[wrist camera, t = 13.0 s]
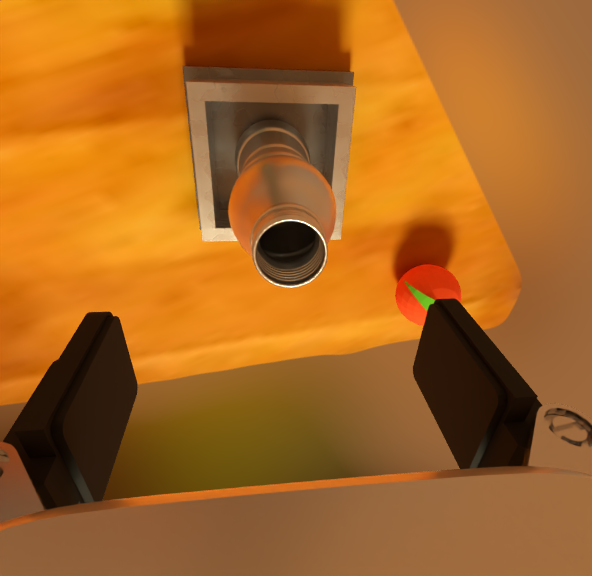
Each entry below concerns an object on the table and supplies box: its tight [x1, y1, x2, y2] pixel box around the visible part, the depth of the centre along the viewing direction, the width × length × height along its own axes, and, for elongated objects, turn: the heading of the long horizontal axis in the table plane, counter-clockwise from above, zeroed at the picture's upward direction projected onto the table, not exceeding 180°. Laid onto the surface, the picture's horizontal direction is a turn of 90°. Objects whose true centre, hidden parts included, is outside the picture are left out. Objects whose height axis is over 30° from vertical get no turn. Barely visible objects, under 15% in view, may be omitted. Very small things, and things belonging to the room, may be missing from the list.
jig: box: [183, 66, 356, 241], centre depth 33 cm, size 14×14×6 cm
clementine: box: [395, 264, 461, 326], centre depth 42 cm, size 8×7×7 cm
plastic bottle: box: [228, 120, 337, 288], centre depth 26 cm, size 6×7×20 cm
